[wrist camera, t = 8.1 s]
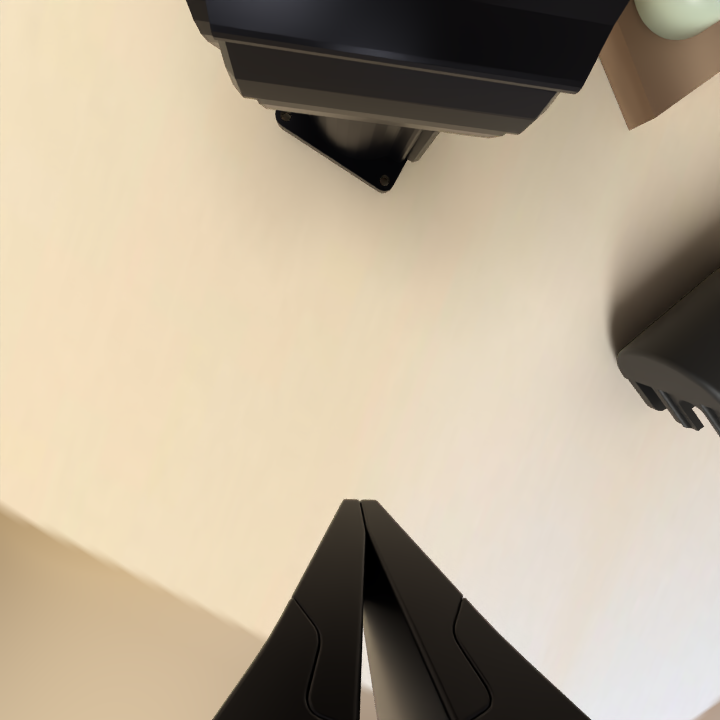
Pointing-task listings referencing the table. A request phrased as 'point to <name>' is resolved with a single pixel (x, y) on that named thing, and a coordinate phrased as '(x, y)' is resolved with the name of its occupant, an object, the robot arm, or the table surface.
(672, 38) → the sage key
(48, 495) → the table surface
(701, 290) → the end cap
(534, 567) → the table surface
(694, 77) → the board
